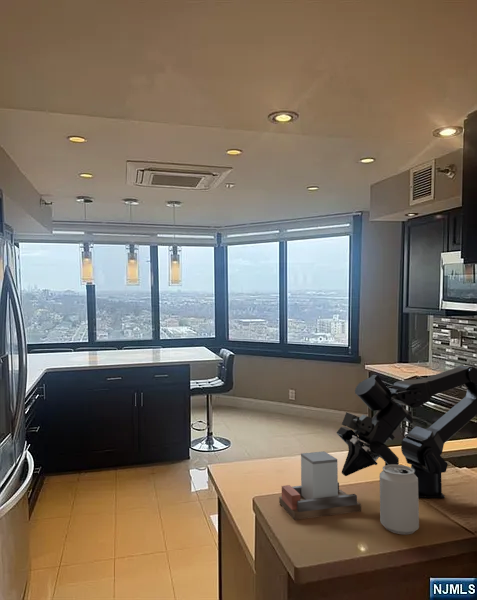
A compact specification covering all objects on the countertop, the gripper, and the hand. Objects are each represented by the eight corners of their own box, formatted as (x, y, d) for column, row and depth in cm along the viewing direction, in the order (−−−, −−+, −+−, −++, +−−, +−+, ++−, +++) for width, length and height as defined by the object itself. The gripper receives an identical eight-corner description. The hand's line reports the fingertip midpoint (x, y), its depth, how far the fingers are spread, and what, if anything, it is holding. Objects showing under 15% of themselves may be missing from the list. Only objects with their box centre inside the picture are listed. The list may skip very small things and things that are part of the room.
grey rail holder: (340, 495, 107) (340, 476, 107) (361, 510, 98) (360, 490, 98) (279, 503, 102) (279, 483, 102) (294, 519, 94) (294, 498, 94)
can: (422, 538, 86) (421, 475, 86) (382, 534, 87) (381, 472, 88) (415, 521, 93) (414, 463, 94) (378, 518, 94) (377, 461, 95)
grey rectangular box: (324, 492, 104) (324, 451, 105) (338, 503, 98) (337, 459, 98) (301, 495, 102) (300, 453, 103) (313, 506, 96) (312, 461, 97)
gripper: (343, 394, 114) (304, 441, 110) (386, 408, 96) (341, 463, 92) (370, 423, 115) (332, 470, 112) (417, 442, 97) (374, 498, 94)
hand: (343, 474), depth 102 cm, fingers closed
